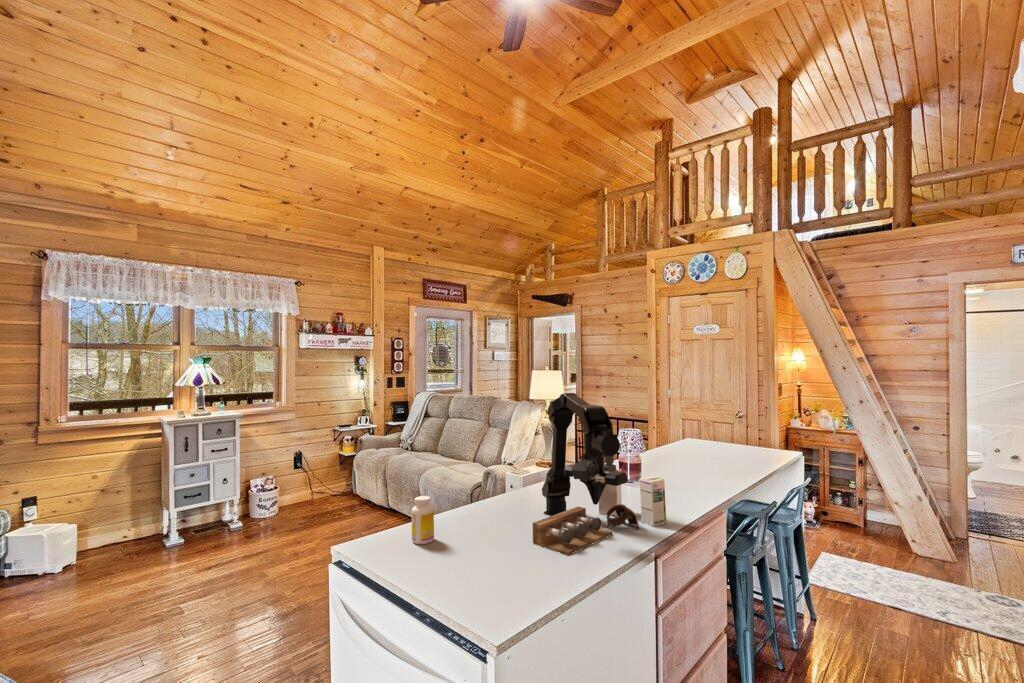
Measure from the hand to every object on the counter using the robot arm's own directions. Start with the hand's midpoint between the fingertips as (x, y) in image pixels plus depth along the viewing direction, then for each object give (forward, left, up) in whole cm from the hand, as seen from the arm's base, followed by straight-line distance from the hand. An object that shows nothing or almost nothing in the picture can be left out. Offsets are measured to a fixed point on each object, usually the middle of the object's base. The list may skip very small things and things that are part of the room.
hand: (595, 504), depth 138 cm
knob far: (-8, +7, -10) cm, 15 cm away
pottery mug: (-3, +19, -12) cm, 23 cm away
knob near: (-8, -7, -10) cm, 15 cm away
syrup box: (+2, +29, -12) cm, 32 cm away
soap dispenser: (-15, +30, -12) cm, 36 cm away
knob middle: (-8, 0, -10) cm, 13 cm away
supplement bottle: (-41, -32, -12) cm, 53 cm away
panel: (-8, 0, -12) cm, 15 cm away
